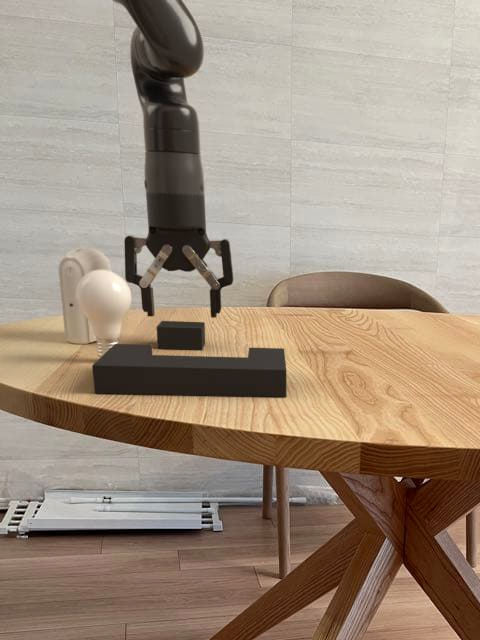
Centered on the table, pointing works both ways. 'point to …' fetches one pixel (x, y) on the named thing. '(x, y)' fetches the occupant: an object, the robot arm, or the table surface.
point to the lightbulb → (104, 305)
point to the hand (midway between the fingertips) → (182, 316)
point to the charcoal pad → (190, 373)
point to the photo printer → (69, 276)
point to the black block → (181, 335)
